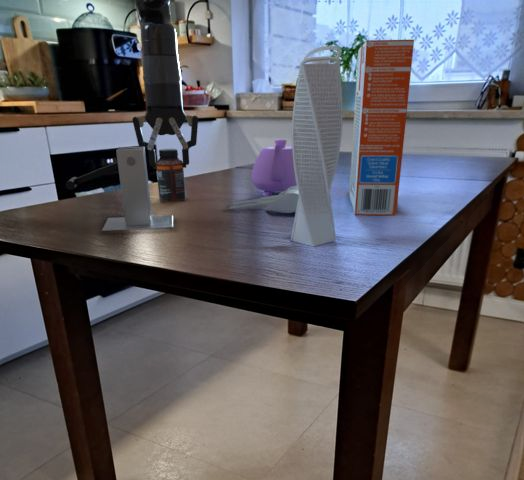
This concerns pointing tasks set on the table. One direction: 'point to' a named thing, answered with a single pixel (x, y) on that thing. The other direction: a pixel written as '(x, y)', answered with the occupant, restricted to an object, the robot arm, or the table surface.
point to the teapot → (274, 169)
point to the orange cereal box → (379, 125)
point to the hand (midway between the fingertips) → (169, 167)
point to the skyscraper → (316, 145)
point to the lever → (90, 176)
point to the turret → (272, 202)
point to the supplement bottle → (170, 176)
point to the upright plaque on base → (135, 194)
